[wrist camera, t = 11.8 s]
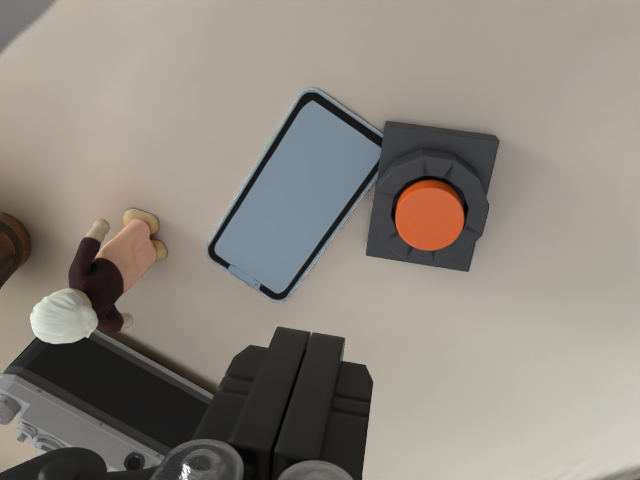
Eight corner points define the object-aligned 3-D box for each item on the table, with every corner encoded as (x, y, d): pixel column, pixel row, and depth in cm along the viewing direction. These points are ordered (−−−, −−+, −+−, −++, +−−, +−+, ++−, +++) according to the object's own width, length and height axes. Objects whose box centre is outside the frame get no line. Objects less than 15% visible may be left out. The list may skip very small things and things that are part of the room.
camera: (49, 356, 50) (-37, 453, 42) (60, 302, 45) (-36, 402, 37) (200, 440, 51) (143, 549, 43) (230, 398, 46) (170, 514, 38)
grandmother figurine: (104, 202, 41) (-17, 279, 30) (148, 189, 40) (40, 263, 29) (146, 291, 44) (50, 394, 32) (188, 281, 43) (105, 383, 31)
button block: (385, 120, 36) (383, 132, 32) (496, 135, 35) (504, 148, 32) (367, 247, 39) (362, 268, 36) (466, 262, 39) (471, 286, 35)
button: (401, 174, 34) (401, 183, 32) (468, 184, 33) (470, 193, 32) (391, 234, 35) (390, 245, 34) (455, 244, 35) (456, 255, 33)
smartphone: (400, 146, 36) (282, 308, 42) (401, 144, 37) (284, 302, 43) (306, 80, 35) (199, 254, 41) (308, 79, 36) (203, 249, 42)
